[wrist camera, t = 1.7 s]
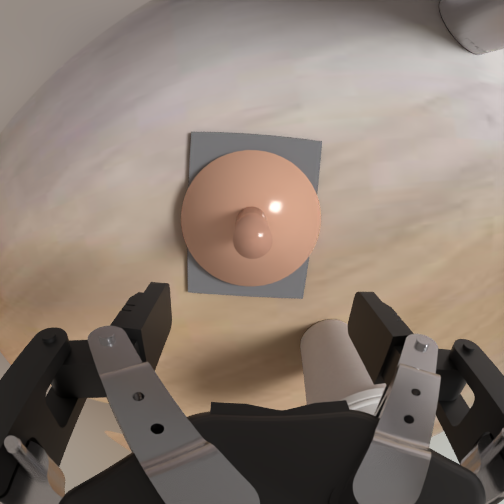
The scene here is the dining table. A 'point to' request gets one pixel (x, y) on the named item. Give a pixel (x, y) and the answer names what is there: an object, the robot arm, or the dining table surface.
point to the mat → (292, 149)
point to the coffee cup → (336, 368)
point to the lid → (250, 218)
